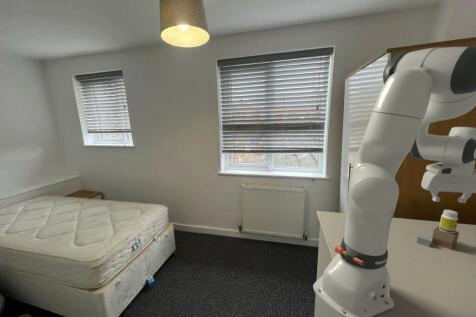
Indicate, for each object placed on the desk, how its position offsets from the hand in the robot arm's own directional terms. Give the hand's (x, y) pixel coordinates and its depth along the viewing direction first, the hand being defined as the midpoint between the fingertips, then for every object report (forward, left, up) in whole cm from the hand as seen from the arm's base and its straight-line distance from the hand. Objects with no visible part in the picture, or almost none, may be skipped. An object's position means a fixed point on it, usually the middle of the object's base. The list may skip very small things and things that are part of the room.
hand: (448, 201), depth 83 cm
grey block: (-6, +4, -18) cm, 20 cm away
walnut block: (0, -1, -18) cm, 18 cm away
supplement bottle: (0, -1, -13) cm, 13 cm away
